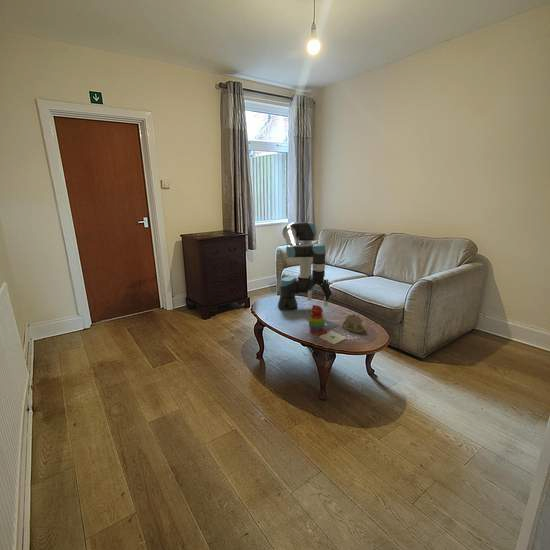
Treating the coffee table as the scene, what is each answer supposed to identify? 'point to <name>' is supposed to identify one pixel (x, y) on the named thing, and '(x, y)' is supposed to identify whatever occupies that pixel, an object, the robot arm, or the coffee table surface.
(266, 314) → the coffee table surface
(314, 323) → the stacking bear
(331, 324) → the pad
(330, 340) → the pad
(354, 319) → the beige lumpy chunk
